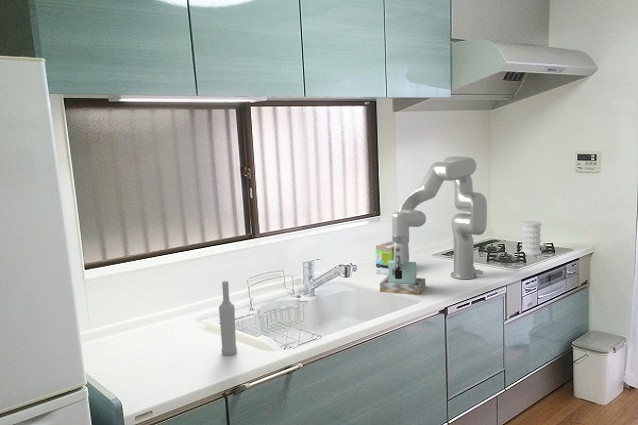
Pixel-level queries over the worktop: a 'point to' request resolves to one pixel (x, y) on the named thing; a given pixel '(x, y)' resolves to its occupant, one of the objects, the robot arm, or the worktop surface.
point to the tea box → (384, 257)
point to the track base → (403, 287)
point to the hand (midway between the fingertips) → (401, 276)
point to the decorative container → (531, 237)
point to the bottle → (227, 323)
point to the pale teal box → (403, 273)
